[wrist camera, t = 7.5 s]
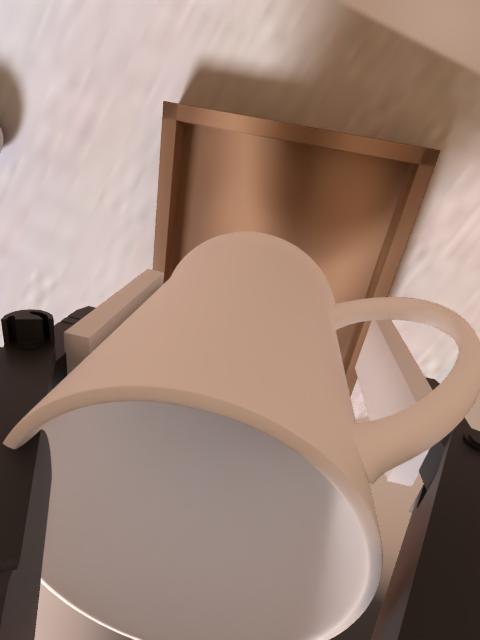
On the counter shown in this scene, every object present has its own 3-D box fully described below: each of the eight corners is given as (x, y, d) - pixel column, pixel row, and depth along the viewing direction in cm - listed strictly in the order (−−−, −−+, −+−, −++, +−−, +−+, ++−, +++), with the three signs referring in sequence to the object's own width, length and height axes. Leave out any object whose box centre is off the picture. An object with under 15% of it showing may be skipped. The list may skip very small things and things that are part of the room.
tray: (158, 347, 29) (146, 363, 27) (176, 106, 22) (163, 101, 20) (342, 386, 28) (346, 406, 26) (424, 151, 21) (440, 150, 19)
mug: (390, 181, 15) (649, 248, 4) (419, 358, 18) (610, 674, 7) (139, 259, 18) (-109, 420, 7) (200, 399, 21) (93, 666, 10)
